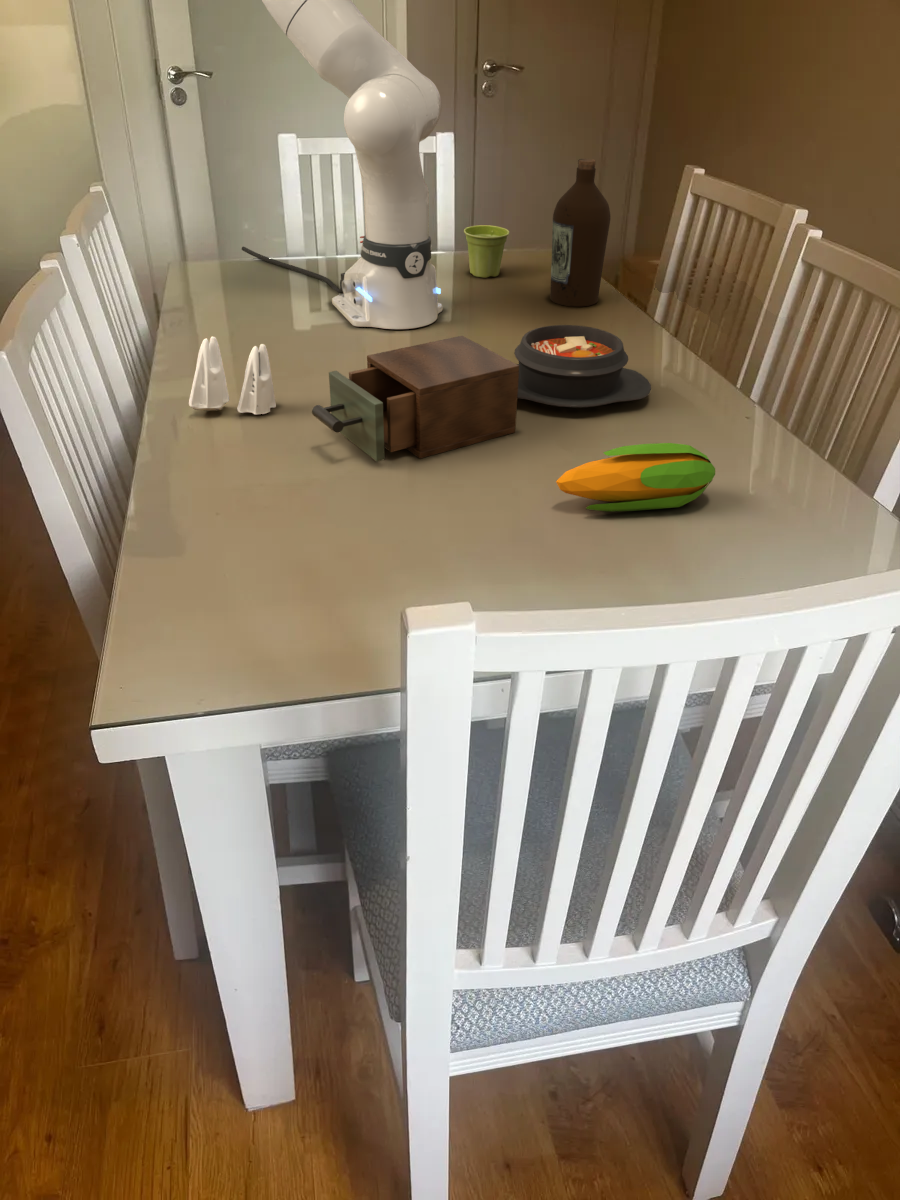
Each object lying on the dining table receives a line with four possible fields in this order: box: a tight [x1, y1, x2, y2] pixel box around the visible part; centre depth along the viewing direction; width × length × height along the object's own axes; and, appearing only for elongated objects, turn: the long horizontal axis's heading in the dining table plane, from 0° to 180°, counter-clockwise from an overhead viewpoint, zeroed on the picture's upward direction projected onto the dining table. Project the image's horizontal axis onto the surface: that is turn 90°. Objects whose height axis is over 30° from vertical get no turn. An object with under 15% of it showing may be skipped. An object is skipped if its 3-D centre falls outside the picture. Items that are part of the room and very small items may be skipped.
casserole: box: [513, 324, 652, 409], centre depth 138 cm, size 25×19×8 cm
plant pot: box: [463, 224, 510, 279], centre depth 189 cm, size 9×9×9 cm
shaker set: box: [188, 335, 277, 415], centre depth 129 cm, size 12×4×11 cm, turn 97°
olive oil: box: [549, 158, 611, 308], centre depth 171 cm, size 11×11×25 cm
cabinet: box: [366, 335, 519, 459], centre depth 127 cm, size 16×14×10 cm
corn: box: [555, 442, 716, 513], centre depth 110 cm, size 7×8×20 cm
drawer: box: [311, 367, 416, 462], centre depth 123 cm, size 19×13×8 cm, turn 123°
